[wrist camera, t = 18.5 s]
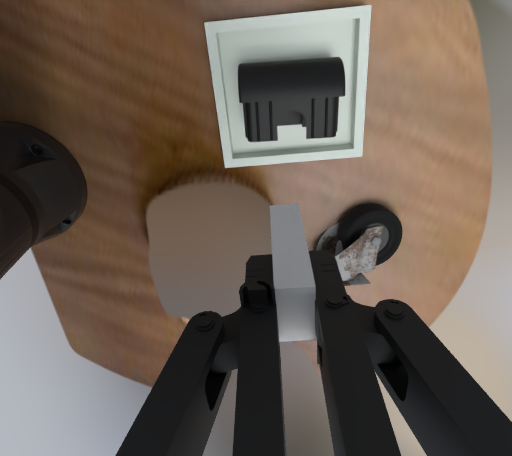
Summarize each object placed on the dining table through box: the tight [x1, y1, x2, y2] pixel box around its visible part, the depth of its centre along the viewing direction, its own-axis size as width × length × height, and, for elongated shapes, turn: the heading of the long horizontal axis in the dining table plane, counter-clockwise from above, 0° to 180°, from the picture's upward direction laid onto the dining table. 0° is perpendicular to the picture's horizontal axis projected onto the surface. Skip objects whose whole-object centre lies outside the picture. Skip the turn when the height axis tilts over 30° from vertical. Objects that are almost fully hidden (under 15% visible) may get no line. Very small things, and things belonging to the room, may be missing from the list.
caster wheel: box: [316, 204, 402, 286], centre depth 48 cm, size 7×11×10 cm
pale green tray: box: [204, 5, 371, 168], centre depth 38 cm, size 16×20×3 cm
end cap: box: [238, 57, 345, 142], centre depth 37 cm, size 10×7×7 cm
